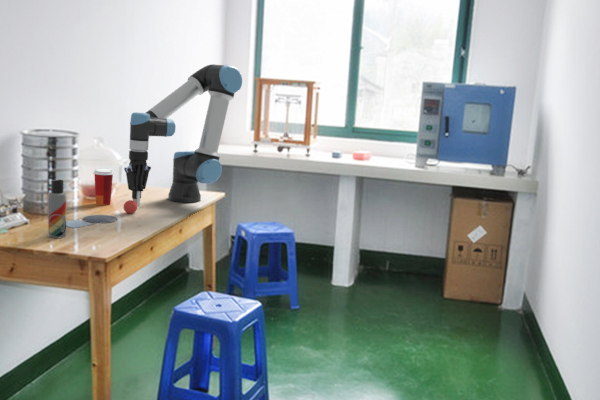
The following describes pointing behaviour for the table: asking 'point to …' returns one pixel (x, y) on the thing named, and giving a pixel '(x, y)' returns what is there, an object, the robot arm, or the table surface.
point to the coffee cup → (103, 186)
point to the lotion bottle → (57, 210)
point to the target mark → (100, 219)
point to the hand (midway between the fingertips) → (136, 206)
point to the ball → (130, 206)
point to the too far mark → (77, 223)
